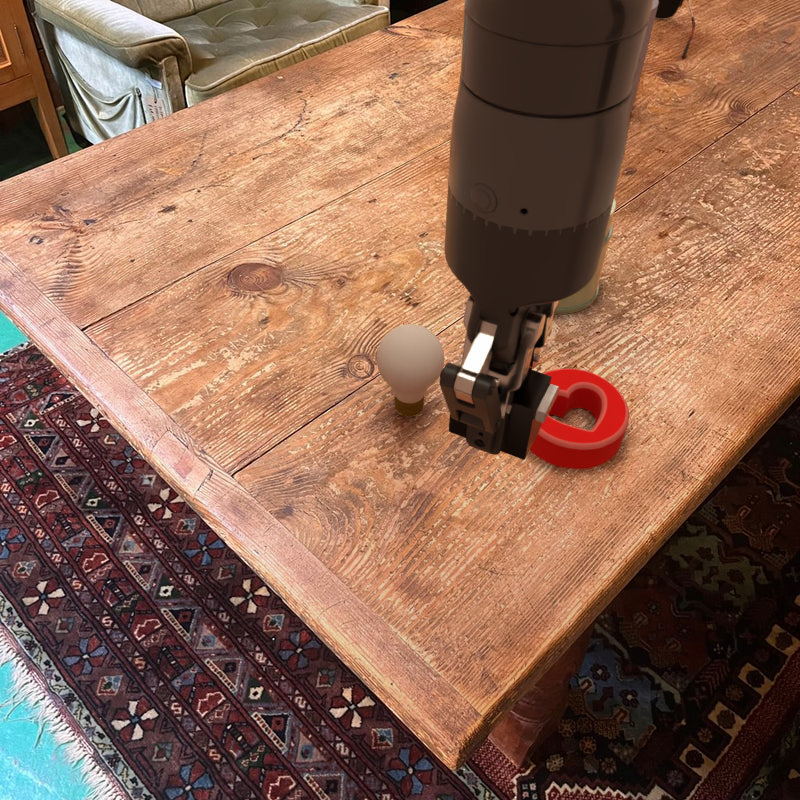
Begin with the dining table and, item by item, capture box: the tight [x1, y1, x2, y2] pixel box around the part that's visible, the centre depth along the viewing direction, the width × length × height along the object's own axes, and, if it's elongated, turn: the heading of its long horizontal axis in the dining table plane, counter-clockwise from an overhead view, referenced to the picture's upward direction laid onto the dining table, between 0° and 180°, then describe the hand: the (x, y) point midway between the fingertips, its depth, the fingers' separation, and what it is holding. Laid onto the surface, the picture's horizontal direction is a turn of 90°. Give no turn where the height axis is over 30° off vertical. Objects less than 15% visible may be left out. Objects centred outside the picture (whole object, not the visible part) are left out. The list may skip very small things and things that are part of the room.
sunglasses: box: [655, 0, 696, 58], centre depth 128 cm, size 14×16×5 cm
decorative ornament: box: [529, 367, 630, 470], centre depth 70 cm, size 10×10×3 cm
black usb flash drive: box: [448, 363, 559, 461], centre depth 46 cm, size 6×3×4 cm, turn 63°
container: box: [630, 0, 659, 115], centre depth 107 cm, size 10×10×15 cm
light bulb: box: [376, 323, 445, 417], centre depth 68 cm, size 6×6×10 cm
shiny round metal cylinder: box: [555, 196, 617, 315], centre depth 81 cm, size 10×10×11 cm
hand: (495, 425), depth 47 cm, fingers closed on black usb flash drive, 3 cm apart
